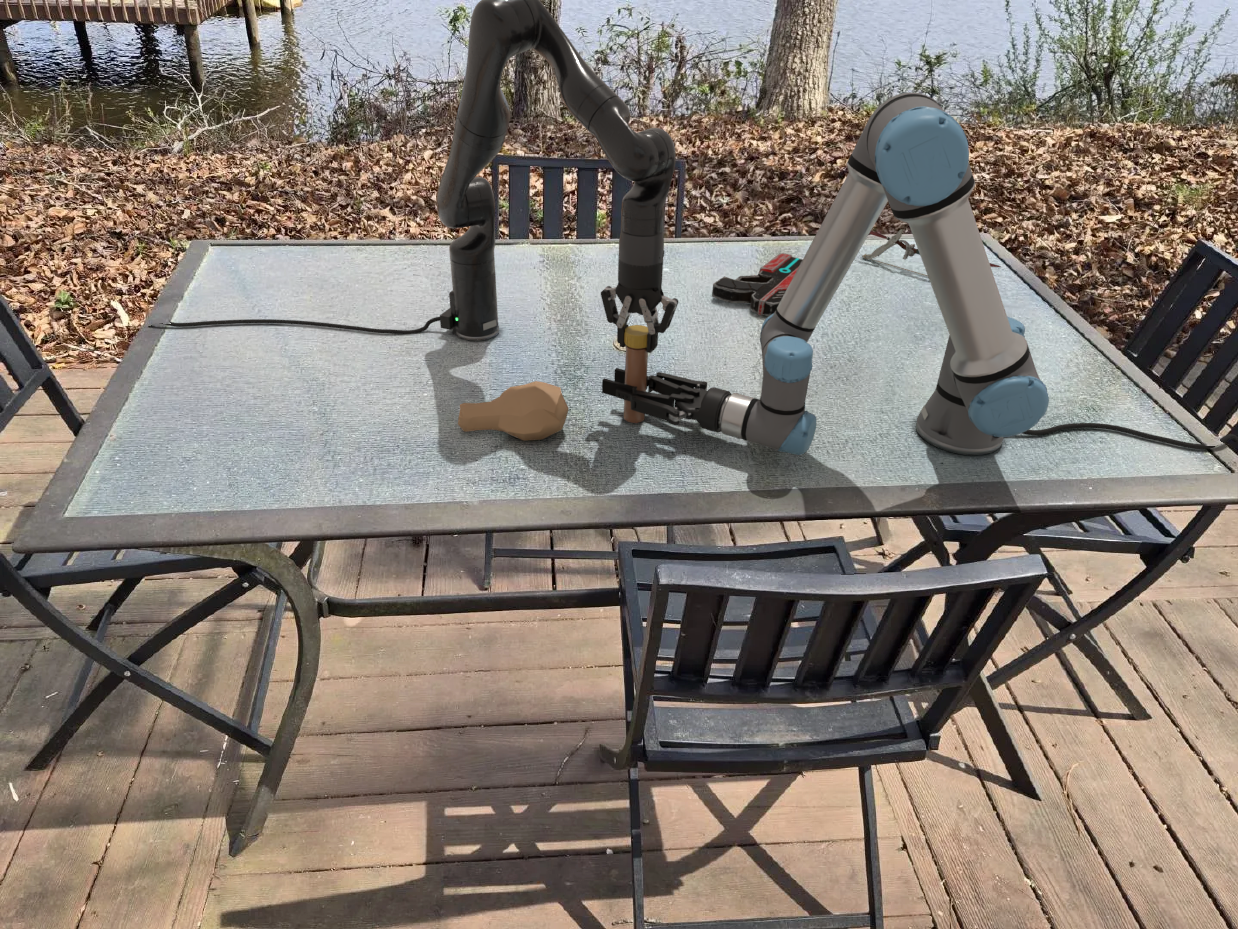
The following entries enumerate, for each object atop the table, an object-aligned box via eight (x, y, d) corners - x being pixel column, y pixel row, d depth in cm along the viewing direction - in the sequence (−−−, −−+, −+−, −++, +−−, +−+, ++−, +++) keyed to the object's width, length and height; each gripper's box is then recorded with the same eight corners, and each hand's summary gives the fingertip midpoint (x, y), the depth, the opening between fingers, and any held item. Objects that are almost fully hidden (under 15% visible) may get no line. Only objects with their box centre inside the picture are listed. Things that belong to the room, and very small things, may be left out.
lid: (625, 336, 158) (625, 323, 156) (651, 338, 157) (651, 325, 156) (623, 347, 154) (623, 335, 152) (649, 349, 153) (650, 336, 152)
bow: (994, 294, 218) (1005, 255, 212) (991, 296, 216) (1002, 257, 211) (857, 254, 239) (863, 218, 233) (853, 256, 238) (860, 219, 232)
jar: (641, 424, 162) (645, 340, 152) (620, 421, 163) (623, 337, 153) (647, 414, 165) (651, 331, 156) (626, 410, 166) (629, 327, 157)
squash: (570, 447, 155) (562, 408, 149) (459, 455, 156) (447, 417, 150) (573, 407, 163) (565, 369, 157) (467, 416, 164) (456, 378, 158)
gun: (708, 284, 207) (784, 305, 199) (760, 245, 229) (831, 262, 221) (706, 302, 209) (781, 323, 201) (758, 261, 231) (828, 278, 223)
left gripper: (592, 256, 146) (591, 349, 155) (673, 270, 141) (667, 364, 151) (610, 242, 152) (608, 332, 161) (688, 255, 147) (681, 347, 157)
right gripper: (705, 453, 149) (586, 418, 158) (742, 410, 162) (630, 379, 171) (708, 415, 145) (586, 381, 154) (746, 374, 158) (631, 344, 167)
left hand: (637, 347), depth 156 cm, fingers closed on lid, 4 cm apart
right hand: (609, 380), depth 162 cm, fingers closed on jar, 4 cm apart
